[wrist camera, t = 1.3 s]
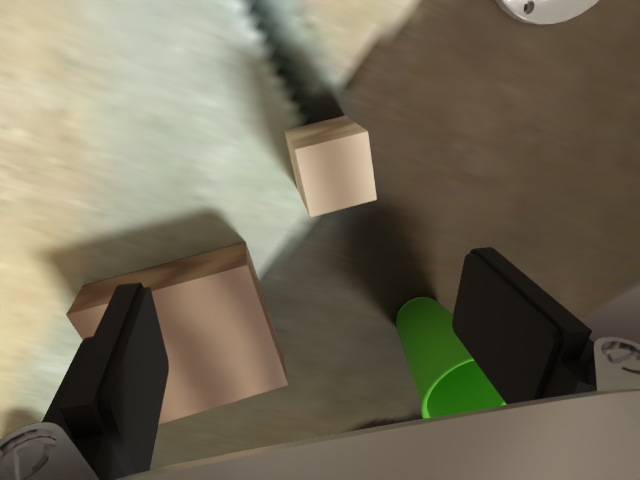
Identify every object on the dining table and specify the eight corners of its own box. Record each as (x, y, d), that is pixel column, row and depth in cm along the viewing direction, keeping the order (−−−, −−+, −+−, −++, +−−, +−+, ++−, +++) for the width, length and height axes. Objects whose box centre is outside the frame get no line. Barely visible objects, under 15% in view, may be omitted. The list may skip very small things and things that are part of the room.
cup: (360, 326, 41) (400, 412, 32) (421, 265, 39) (483, 338, 30) (413, 358, 45) (463, 445, 36) (471, 305, 43) (540, 381, 34)
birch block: (344, 115, 31) (367, 131, 26) (353, 174, 34) (376, 199, 28) (283, 130, 31) (294, 149, 25) (297, 189, 33) (310, 217, 28)
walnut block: (245, 241, 34) (247, 265, 31) (283, 355, 41) (288, 384, 38) (83, 285, 33) (66, 314, 30) (149, 395, 40) (142, 429, 36)
